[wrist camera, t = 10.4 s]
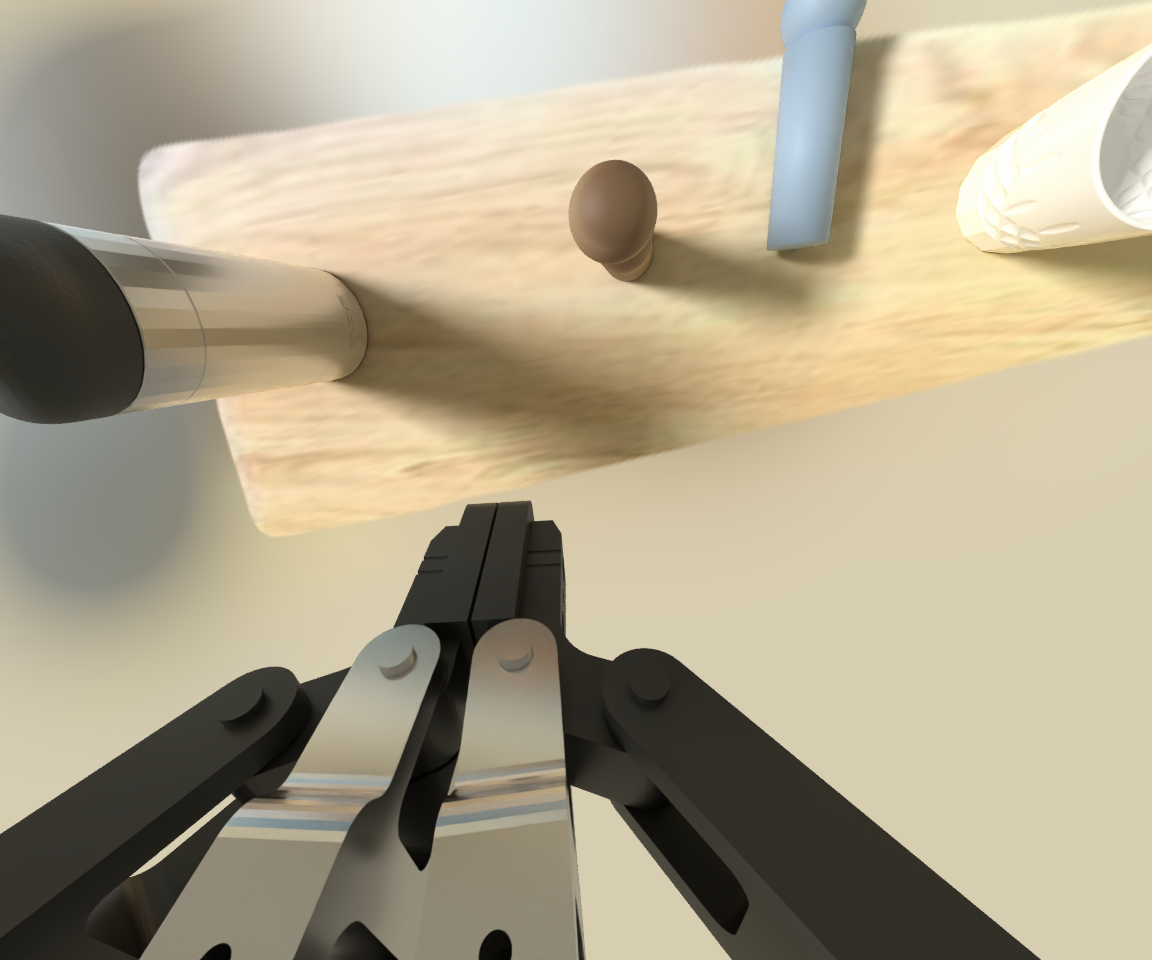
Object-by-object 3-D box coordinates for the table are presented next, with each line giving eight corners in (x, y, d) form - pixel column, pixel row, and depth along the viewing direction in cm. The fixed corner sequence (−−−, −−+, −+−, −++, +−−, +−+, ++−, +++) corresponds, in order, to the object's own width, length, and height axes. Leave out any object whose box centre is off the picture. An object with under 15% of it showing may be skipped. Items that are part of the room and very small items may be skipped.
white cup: (1113, 213, 25) (1375, 148, 16) (965, 289, 28) (1118, 270, 19) (1079, 79, 24) (1348, -78, 15) (926, 172, 26) (1071, 88, 17)
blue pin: (771, 243, 26) (799, -67, 21) (755, 253, 30) (775, -6, 25) (846, 236, 25) (892, -86, 20) (819, 247, 29) (853, -21, 24)
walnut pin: (601, 288, 32) (564, 262, 19) (597, 225, 30) (556, 152, 18) (657, 282, 31) (657, 251, 18) (656, 217, 30) (657, 135, 17)
